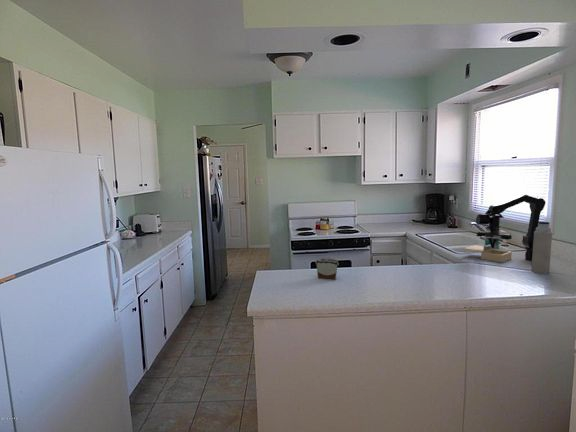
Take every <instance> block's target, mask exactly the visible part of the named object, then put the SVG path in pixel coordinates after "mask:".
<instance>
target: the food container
mask: <svg viewBox="0 0 576 432" xmlns="http://www.w3.org/2000/svg"><path fill="white" fill-rule="evenodd" d="M314 264H315V265H316V274H317V279H318V280H325V281H326V280H328V281H336V280H337V270H338V266H340V265H339V261H338V259H334V258H330V257H329V258H327V257H325V258H323V257H322V258H318V259H316V260H315V262H314Z"/></svg>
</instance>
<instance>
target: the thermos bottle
mask: <svg viewBox="0 0 576 432" xmlns="http://www.w3.org/2000/svg"><path fill="white" fill-rule="evenodd" d="M552 239H553V232H552V228H551V227H550V222H548V221H539V222H538V227H536V231H534V242H533V255H532V260H531V272H534V273H538V274H549V273H550V268H551V267H550V266H551V265H550V264H551V255H552V254H551V253H552V241H553V240H552Z"/></svg>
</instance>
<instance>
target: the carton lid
mask: <svg viewBox="0 0 576 432" xmlns="http://www.w3.org/2000/svg"><path fill="white" fill-rule="evenodd" d="M463 249H464V250H468V251H472V252H473V251H475V252H480V253H481V252H486V251H489V250H492V247H491V245H486V246H485V245H476V244H475V245H471V246H467V247H464V248H463Z"/></svg>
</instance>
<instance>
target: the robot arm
mask: <svg viewBox="0 0 576 432" xmlns="http://www.w3.org/2000/svg"><path fill="white" fill-rule="evenodd" d="M524 202H525V203H527V204H529V209H530V217H529V222H528V228H527V232H526V235H522V240H521V242H522V245H523V246H524V248H525V249H526V251H525V255H524V260H526V261H527V260H528V261H532V255H533V242H534V231H536V227H538V224H539V223H538V222H540V217H541V214H542V211H543V210H544V209H545V206H546V200H545V199H544V198H541V197H535V196H530V195H528V194H520V195H518V196H516V197H514V198H511V199H508V200H506V201H504V202H501V203H500V202H499V203H495V204H492V205H489V207H488V210H486V211H485V213H483V214H481V213H478V214H477V215H476V218H475V224H476V225H481V226H482V225H485V226H486V225H488V227H487V229H486V230H485V231H481V230H480V231H477V232H476V236H477V237H480V238H481V237H484V236H485V237H486V238H485V240H486V239H488V240H489V241H490V244H491V247H492V249H494V248H495V246H496V244H497V242H498V241H499V242H500V240H511V239H512V238H513V237H512V234H511V233H502V234H501V233H500V228H501V226H500V222H501V221H500V220H501V219H504V216H503V215H502V213H503V212H505V211H506V210H507V209H510V208H512V207H514V206H516V205H519V204H522V203H524Z"/></svg>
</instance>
